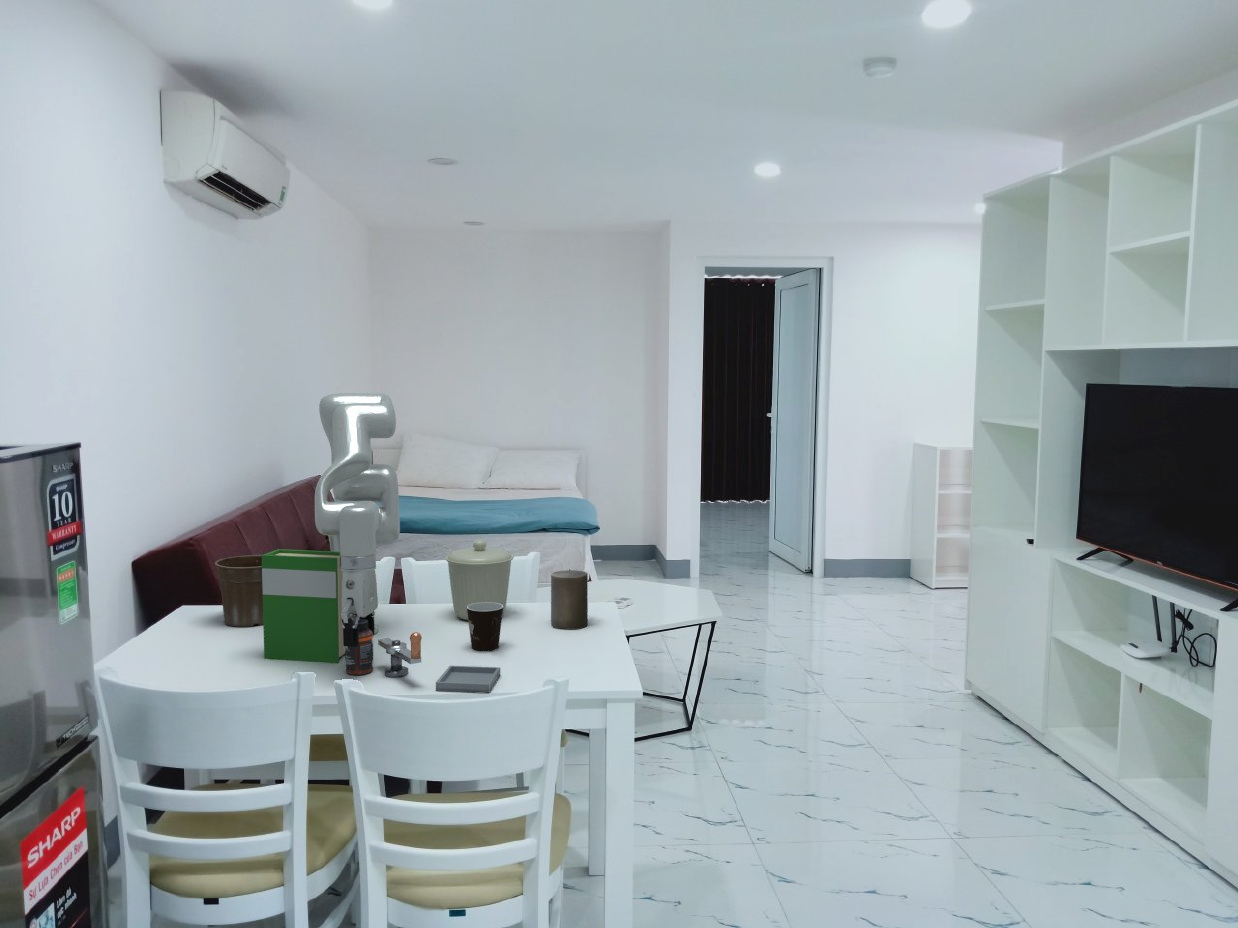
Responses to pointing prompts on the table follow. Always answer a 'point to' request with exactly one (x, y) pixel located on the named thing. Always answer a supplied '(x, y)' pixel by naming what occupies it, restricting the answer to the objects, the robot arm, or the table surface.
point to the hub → (396, 668)
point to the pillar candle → (569, 599)
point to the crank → (404, 648)
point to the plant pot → (241, 590)
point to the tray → (468, 679)
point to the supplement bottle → (360, 651)
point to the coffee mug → (485, 625)
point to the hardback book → (302, 606)
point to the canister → (478, 576)
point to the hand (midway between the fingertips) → (359, 640)
